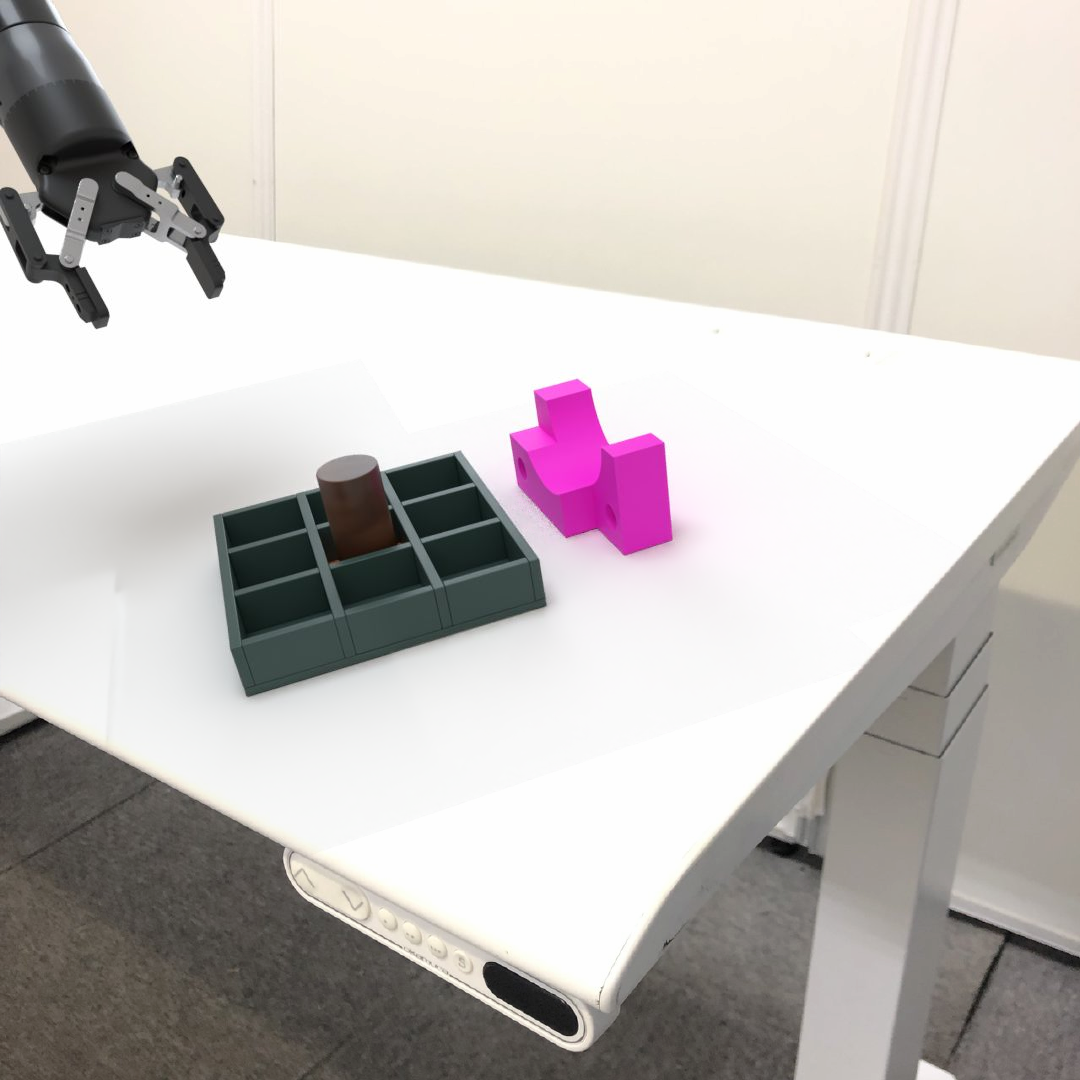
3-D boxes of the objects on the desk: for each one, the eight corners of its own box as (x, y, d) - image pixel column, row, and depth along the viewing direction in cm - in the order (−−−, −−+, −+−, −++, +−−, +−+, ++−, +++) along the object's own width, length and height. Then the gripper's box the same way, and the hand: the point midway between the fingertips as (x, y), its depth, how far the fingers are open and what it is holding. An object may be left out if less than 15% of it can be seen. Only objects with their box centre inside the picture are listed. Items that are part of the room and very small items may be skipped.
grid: (246, 697, 63) (229, 649, 61) (226, 556, 80) (212, 515, 78) (547, 605, 67) (539, 558, 66) (468, 490, 84) (460, 450, 82)
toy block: (517, 484, 84) (503, 398, 80) (588, 464, 85) (577, 378, 81) (591, 565, 71) (578, 467, 67) (672, 539, 73) (664, 442, 69)
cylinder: (348, 591, 71) (320, 487, 67) (338, 563, 74) (311, 464, 71) (407, 574, 72) (383, 471, 68) (395, 548, 75) (371, 448, 71)
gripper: (-49, 89, 67) (68, 306, 66) (158, 63, 75) (265, 257, 74) (-51, 160, 73) (57, 359, 72) (141, 129, 81) (239, 308, 80)
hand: (162, 307), depth 73 cm, fingers open, 8 cm apart
